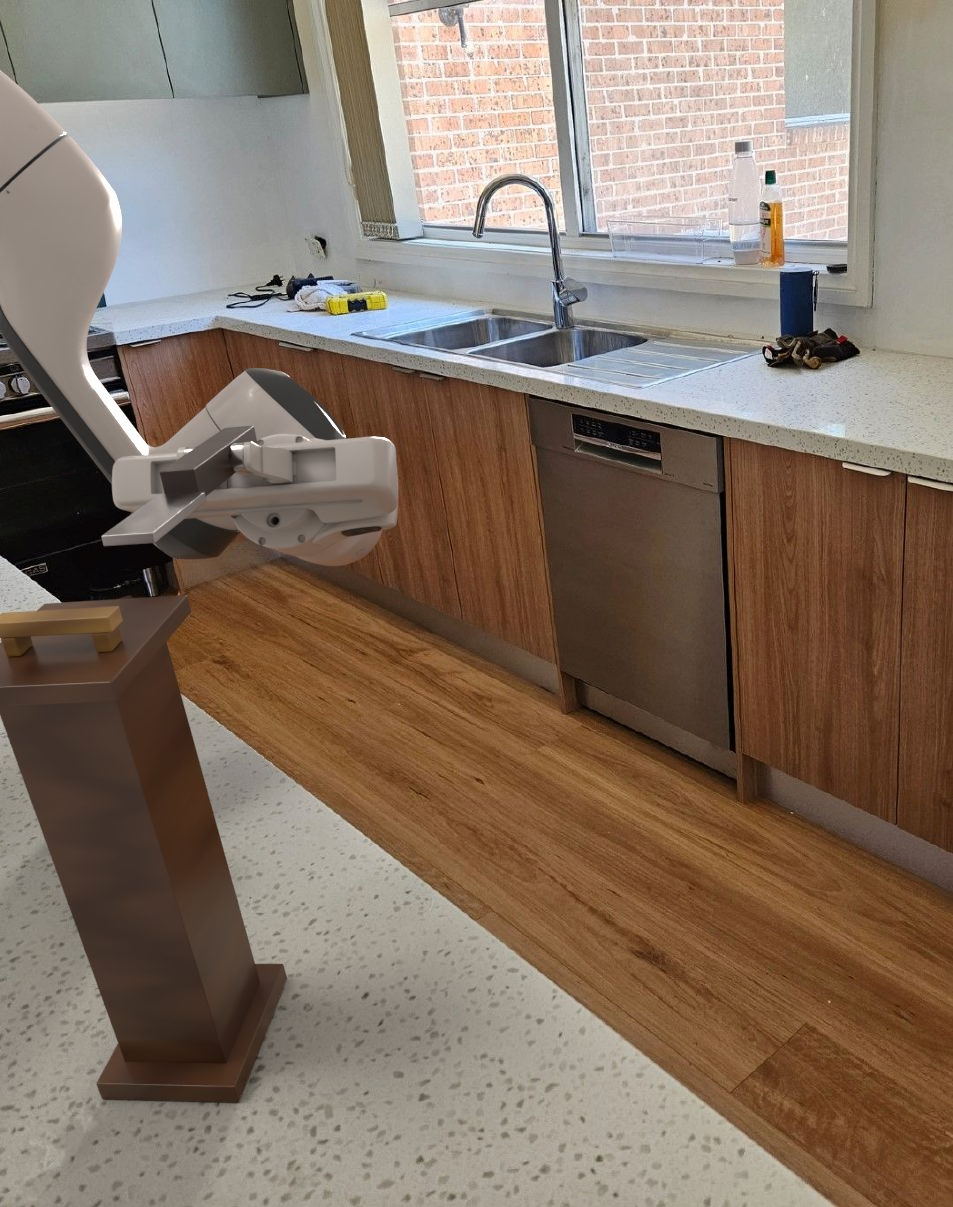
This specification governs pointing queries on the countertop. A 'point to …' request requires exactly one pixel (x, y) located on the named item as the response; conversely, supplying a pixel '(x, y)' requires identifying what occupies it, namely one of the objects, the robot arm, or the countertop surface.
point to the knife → (181, 489)
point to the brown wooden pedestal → (136, 844)
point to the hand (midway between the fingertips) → (213, 456)
